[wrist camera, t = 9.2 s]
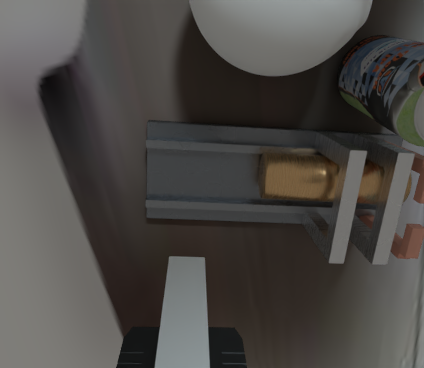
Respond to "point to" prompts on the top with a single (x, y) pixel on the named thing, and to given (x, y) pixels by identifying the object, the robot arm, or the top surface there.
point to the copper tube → (314, 178)
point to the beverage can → (387, 84)
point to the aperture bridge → (413, 232)
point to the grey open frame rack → (228, 171)
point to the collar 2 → (382, 198)
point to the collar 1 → (337, 197)
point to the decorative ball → (278, 31)
